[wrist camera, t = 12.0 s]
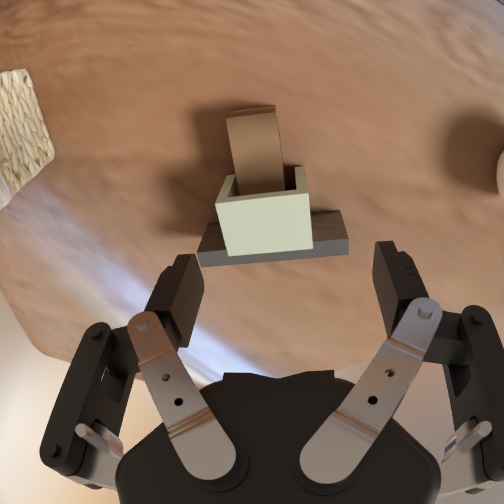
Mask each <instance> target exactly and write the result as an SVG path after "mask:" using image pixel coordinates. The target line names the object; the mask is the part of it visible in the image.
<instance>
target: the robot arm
mask: <svg viewBox="0 0 504 504" xmlns="http://www.w3.org/2000/svg"><path fill="white" fill-rule="evenodd" d="M499 1H500V2H501V3H502V4H504V0H499ZM372 274H373V283H374V287H375V290H376V294H377V297H378V301H379V305H380V309H381V313H382V316H383V320H384V324H385V328H386V333H387V337H388V338H387V339H386V340H385V341H384V343H383V344H382V346H381V348H380V349H379V351H378V352H377V354H376V355H375V357H374V358H373V360H372V362H371V363H370V364H369V366H368V367H367V369H366V370H365V372H364V373H363V375H362V376H361V377H360V379H359V380H358V382H357V383H356V385H355V384H354V383H352V382H349V381H347V380H343V379H340V378H335V377H334V370H324V371H307V372H303V373H299V374H295V375H291V376H287V377H283V378H278V379H277V378H271V377H267V376H262V375H257V374H253V373H224V375H223V380H221V381H217V382H214V383H212V384H209V385H207V386H205V387H203V388H202V389H200V390H199V391H198V389H197V387H196V386H195V384H194V382H193V381H192V379H191V377H190V375H189V374H188V372H187V370H186V368H185V367H184V365H183V363H182V361H181V360H180V358H179V356H178V354H177V352H178V349H179V347H184V348H188V345H189V342H190V338H191V334H192V331H193V327H194V324H195V320H196V317H197V313H198V310H199V307H200V303H201V300H202V296H203V293H204V280H203V277H202V274H201V271H200V267H199V264H198V261H197V258H196V256H195V254H181V255H177V257H176V259H175V261H174V264H173V266H168V267H167V268H166V269H165V270H164V271H163V272H162V273H161V274H160V277H159V279H158V281H157V283H156V285H155V287H154V290H153V292H152V294H151V296H150V298H149V301H148V303H147V305H146V307H145V310H144V312H141V313H138V314H136V315H135V316H133V317H132V318H131V320H130V321H129V323H128V325H127V326H125V327H121V328H116V329H111V328H110V326H109V325H108V324H107V323H104V322H99V323H95V324H93V325H92V326H90V327H89V328H88V329H87V330H86V332H85V333H84V335H83V337H82V340H81V342H80V344H79V346H78V349H77V351H76V353H75V355H74V358H73V360H72V362H71V365H70V367H69V370H68V372H67V374H66V377H65V379H64V382H63V384H62V387H61V389H60V392H59V394H58V397H57V399H56V402H55V405H54V408H53V410H52V413H51V416H50V419H49V421H48V424H47V427H46V430H45V433H44V436H43V439H42V442H41V446H40V451H39V452H40V458H41V460H42V462H43V463H44V464H45V465H46V466H48V467H50V468H51V469H53V470H55V471H57V472H58V473H59V474H61V475H63V476H65V477H66V478H69V479H70V480H73V481H74V482H76V483H78V484H82V485H85V486H87V487H89V488H91V489H101V488H103V487H104V488H108V489H111V490H115V491H117V492H118V495H119V500H120V504H434V503H435V500H436V499H437V498H439V497H443V496H447V495H451V494H455V493H459V492H463V491H465V492H466V493H469V494H476V493H479V492H481V491H483V490H485V489H487V488H490V487H492V486H494V485H496V484H498V483H500V482H502V481H503V480H504V348H503V345H502V343H501V340H500V338H499V335H498V332H497V330H496V327H495V325H494V322H493V320H492V318H491V316H490V314H489V313H488V311H486V310H485V309H484V308H482V307H480V306H477V305H470V306H467V307H466V308H465V309H464V310H463V311H462V314H459V313H452V312H446V311H443V310H442V308H441V307H440V305H439V304H438V303H437V302H436V301H434V300H432V299H430V298H429V296H428V293H427V291H426V288H425V286H424V284H423V281H422V279H421V277H420V275H419V272H418V270H417V268H416V266H415V264H414V261H413V259H412V258H411V257H410V256H409V255H408V254H407V253H406V252H405V251H401V252H398V251H397V249H396V247H395V244H394V242H393V241H379V242H376V243H375V251H374V261H373V271H372ZM423 361H425V362H431V363H438V364H442V366H443V370H444V374H445V379H446V384H447V389H448V394H449V398H450V404H451V410H452V416H453V422H454V429H455V432H454V434H452V435H451V436H450V438H449V439H448V440H447V442H446V444H445V451H444V457H443V460H442V462H441V463H440V464H438V462H437V460H436V459H435V457H434V456H433V455H432V454H431V453H430V452H429V451H428V450H427V449H425V448H424V447H423V446H422V445H421V444H420V443H419V442H418V441H417V440H416V439H415V438H414V437H412V436H411V435H410V434H409V433H408V432H407V431H406V430H405V429H404V428H403V427H402V426H401V425H400V424H399V423H398V422H397V421H396V420H394V419H393V418H392V417H393V416H394V414H395V412H396V411H397V409H398V407H399V405H400V404H401V402H402V400H403V398H404V397H405V395H406V393H407V391H408V389H409V388H410V386H411V384H412V382H413V380H414V378H415V376H416V374H417V372H418V370H419V368H420V366H421V364H422V363H423ZM104 370H105V372H104ZM138 372H141V373H142V376H143V378H144V380H145V383H146V385H147V387H148V390H149V392H150V394H151V396H152V399H153V401H154V403H155V405H156V407H157V410H158V411H159V414H160V416H161V418H162V420H163V422H162V423H161V424H160V425H159V426H158V427H157V428H155V429H154V430H153V431H152V432H151V433H150V434H148V435H147V436H146V437H145V438H144V439H143V440H141V441H140V442H139V443H138V444H137V445H135V446H134V447H133V448H132V449H130V450H129V451H128V452H127V453H126V454H125V455H124V453H123V444H122V442H121V440H120V439H119V438H118V437H119V433H120V428H121V425H122V421H123V416H124V413H125V409H126V406H127V402H128V398H129V395H130V391H131V388H132V384H133V381H134V377H135V374H136V373H138ZM103 373H104V375H103ZM102 376H103V378H102ZM101 379H102V380H101Z"/></svg>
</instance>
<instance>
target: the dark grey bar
mask: <svg viewBox="0 0 504 504" xmlns="http://www.w3.org/2000/svg"><path fill="white" fill-rule="evenodd" d="M310 217H311V228H312V241H313V249H305V250H294V251H283V252H272V253H260V254H249V255H238V256H228V252H227V249H226V245H225V241H224V237H223V233H222V229H221V226H220V223H212V224H208V225H207V227H206V230H205V232H204V235H203V237H202V240H201V242H200V245H199V248H198V250H197V256H198V259H199V262H200V265H201V267H210V266H222V265H235V264H247V263H259V262H270V261H282V260H293V259H305V258H316V257H327V256H338V255H348V248H349V239H348V235H347V232H346V229H345V225H344V222H343V219H342V216H341V212H340V211H329V212H318V213H310Z"/></svg>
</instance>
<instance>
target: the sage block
mask: <svg viewBox="0 0 504 504" xmlns="http://www.w3.org/2000/svg"><path fill="white" fill-rule="evenodd" d="M295 177H296V188H297V190H289V191H279V192H270V193H261V194H253V195H244V196H240V195H239V190H238V185H237V179H236V174H233V175H227V176H226V179H225V181H224V183H223V186H222V188H221V190H220V193H219V195H218V198H217V200H216V202H215V206H216V210H217V214H218V218H219V222H220V226H221V229H222V233H223V237H224V241H225V245H226V249H227V252H228V256H238V255H249V254H260V253H272V252H283V251H294V250H305V249H313V241H312V228H311V217H310V206H309V195H308V188H307V182H306V177H305V171H304V166H300V167H295Z"/></svg>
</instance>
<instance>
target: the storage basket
mask: <svg viewBox="0 0 504 504" xmlns="http://www.w3.org/2000/svg"><path fill="white" fill-rule="evenodd" d="M25 77H26V78H25ZM54 156H55V151H54V147H53V144H52V141H51V139H50V138H49V134H48V131H47V128H46V125H45V123H44V119H43V115H42V113H41V110H40V107H39V105H38V100H37V97H36V94H35V92H34V89H33V83H32V80H31V78H30V76H29V73H28V71H27V69H25V68H24V69H18V70H12V71H11V72H10V71H4V72H2V73H0V209H1V208H3V207H5V206H6V205H7V204H8V203H9V202H10V201H11V200H12V198H13V197H14V195H15V194H16V192H18V191H19V190H20V189H21V188H22V187H23V186H24V185H25V184H26V183H27V182H29V181H30V180H31V179H32V178H33V177H35V176H36V175H37V174H38V173H39V172H40V171H41V169H42V168H43V167H44V166H45V165H47V164H48V163H49V162H51V161H52V160H53V159H54Z"/></svg>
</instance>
